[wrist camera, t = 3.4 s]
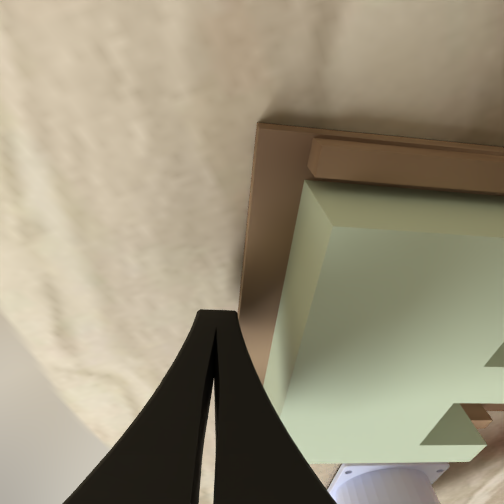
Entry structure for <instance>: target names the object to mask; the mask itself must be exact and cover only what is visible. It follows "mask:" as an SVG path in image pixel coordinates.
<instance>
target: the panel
mask: <svg viewBox="0 0 504 504" xmlns="http://www.w3.org/2000/svg"><path fill="white" fill-rule="evenodd" d="M263 387H264V389H265V391H266V393H267V395H268V397H269V399H270V401H271V403H272V405H273V407H274V409H275V410H276V412H277V414H278V416H279V418H280V419H281V421H282V423H283V425H284V426H285V428H286V430H287V431H288V433H289V435H290V436H291V438H292V439H293V441H294V442H295V444H296V446H297V447H298V449H299V450H300V452H301V453H302V455H303V456H304V458H305V459H306V461H307V462H308V464H336V463H413V462H470V461H471V460H472V459H473V458H474V457H475V456H476V455H477V454H478V453H479V452H480V451H481V450H482V449H483V448H485V447H486V446H487V444H486V442H485V441H484V439H483V438H482V436H481V435H480V433H479V432H478V430H477V429H476V427H475V426H474V424H473V423H472V422H471V420H470V419H469V417H468V416H467V414H466V413H465V411H464V410H463V408H462V407H461V405H460V404H459V403H494V404H504V196H495V195H483V194H470V193H458V192H446V191H434V190H422V189H410V188H398V187H386V186H373V185H361V184H349V183H337V182H325V181H313V180H304V184H303V189H302V194H301V199H300V204H299V209H298V214H297V220H296V225H295V230H294V235H293V240H292V245H291V250H290V255H289V260H288V265H287V270H286V275H285V280H284V285H283V290H282V295H281V300H280V305H279V310H278V315H277V320H276V325H275V330H274V335H273V340H272V345H271V350H270V355H269V360H268V365H267V370H266V375H265V380H264V385H263Z"/></svg>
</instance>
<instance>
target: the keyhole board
mask: <svg viewBox="0 0 504 504" xmlns="http://www.w3.org/2000/svg"><path fill="white" fill-rule="evenodd" d="M304 180H313V181H325V182H337V183H349V184H361V185H373V186H386V187H398V188H410V189H422V190H434V191H446V192H458V193H470V194H483V195H495V196H504V147H498V146H488V145H478V144H468V143H458V142H448V141H438V140H428V139H418V138H408V137H398V136H388V135H378V134H368V133H358V132H348V131H338V130H328V129H318V128H308V127H298V126H288V125H278V124H268V123H258V122H257V127H256V137H255V147H254V157H253V167H252V177H251V187H250V197H249V207H248V217H247V227H246V237H245V247H244V257H243V267H242V277H241V287H240V297H239V307H238V319H239V324H240V328H241V332H242V335H243V338H244V341H245V344H246V347H247V350H248V353H249V355H250V358H251V360H252V363H253V365H254V368H255V370H256V372H257V374H258V377H259V379H260V381H261V383H262V385H264V380H265V375H266V370H267V365H268V360H269V355H270V350H271V345H272V340H273V335H274V330H275V325H276V320H277V315H278V310H279V305H280V300H281V295H282V290H283V285H284V280H285V275H286V270H287V265H288V260H289V255H290V250H291V245H292V240H293V235H294V230H295V225H296V220H297V214H298V209H299V204H300V199H301V194H302V189H303V184H304ZM459 404H460V405H461V407H462V408H463V410H464V411H465V413H466V414H467V416H468V417H469V419H470V420H471V422H472V423H473V424H474V426H475V427H476V428H486V427H487V426H488V425H489V424H490V423H491V422H492V421H493V420H492V419H491V417H490V416H489V414H488V413H487V412H486V411H504V404H494V403H459Z"/></svg>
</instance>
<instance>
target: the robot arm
mask: <svg viewBox="0 0 504 504" xmlns="http://www.w3.org/2000/svg"><path fill="white" fill-rule="evenodd" d="M213 380H214V392H215V431H216V461H215V481H214V501H213V504H440V502H439V500H438V497H437V495H436V493H435V491H434V489H433V487H432V484H433V483H434V482H435V481H436V480H437V479H438V478H439V477H440V476H441V475H442V474H443V473H444V472H445V471H446V470H447V469H448V468H449V466H450V465H449V463H448V462H413V463H342V465H341V467H340V468H339V470H338V472H337V474H336V475H335V477H334V479H333V481H332V482H331V484H330V486H329V488H328V489H327V490H326V488H325V487H324V485H323V484H322V483H321V481H320V480H319V478H318V477H317V476H316V474H315V473H314V471H313V470H312V469H311V467H310V465H309V464H308V462H307V461H306V459H305V458H304V456H303V455H302V453H301V452H300V450H299V449H298V447H297V446H296V444H295V442H294V441H293V439H292V438H291V436H290V435H289V433H288V431H287V430H286V428H285V426H284V425H283V423H282V421H281V419H280V418H279V416H278V414H277V412H276V410H275V409H274V407H273V405H272V403H271V401H270V399H269V397H268V395H267V393H266V391H265V389H264V387H263V385H262V383H261V381H260V379H259V377H258V374H257V372H256V370H255V368H254V365H253V363H252V360H251V358H250V355H249V353H248V350H247V347H246V344H245V341H244V338H243V335H242V332H241V328H240V324H239V319H238V313H237V312H236V311H229V310H201V309H200V310H199V311H198V312H197V314H196V317H195V320H194V323H193V325H192V328H191V330H190V332H189V334H188V336H187V338H186V340H185V342H184V344H183V346H182V348H181V350H180V351H179V353H178V355H177V357H176V359H175V360H174V362H173V364H172V366H171V367H170V369H169V370H168V372H167V374H166V375H165V377H164V378H163V380H162V382H161V383H160V385H159V386H158V388H157V389H156V391H155V392H154V394H153V395H152V397H151V398H150V399H149V401H148V402H147V404H146V405H145V406H144V408H143V409H142V411H141V412H140V413H139V415H138V416H137V417H136V419H135V420H134V421H133V422H132V424H131V425H130V426H129V428H128V429H127V430H126V431H125V433H124V434H123V435H122V437H121V438H120V439H119V440H118V441H117V443H116V444H115V445H114V446H113V448H112V449H111V450H110V451H109V452H108V453H107V455H106V456H105V457H104V458H103V459H102V460H101V461H100V463H99V464H98V465H97V466H96V467H95V468H94V469H93V471H92V472H91V473H90V474H89V475H88V476H87V477H86V479H85V480H84V481H83V482H82V483H81V484H80V485H79V487H78V488H77V489H76V490H75V491H74V492H73V493H72V494H71V496H69V497H68V498H67V499H66V500H65V502H64V503H63V504H198V503H199V490H200V477H201V465H202V454H203V446H204V438H205V432H206V426H207V419H208V413H209V406H210V400H211V393H212V387H213Z"/></svg>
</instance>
